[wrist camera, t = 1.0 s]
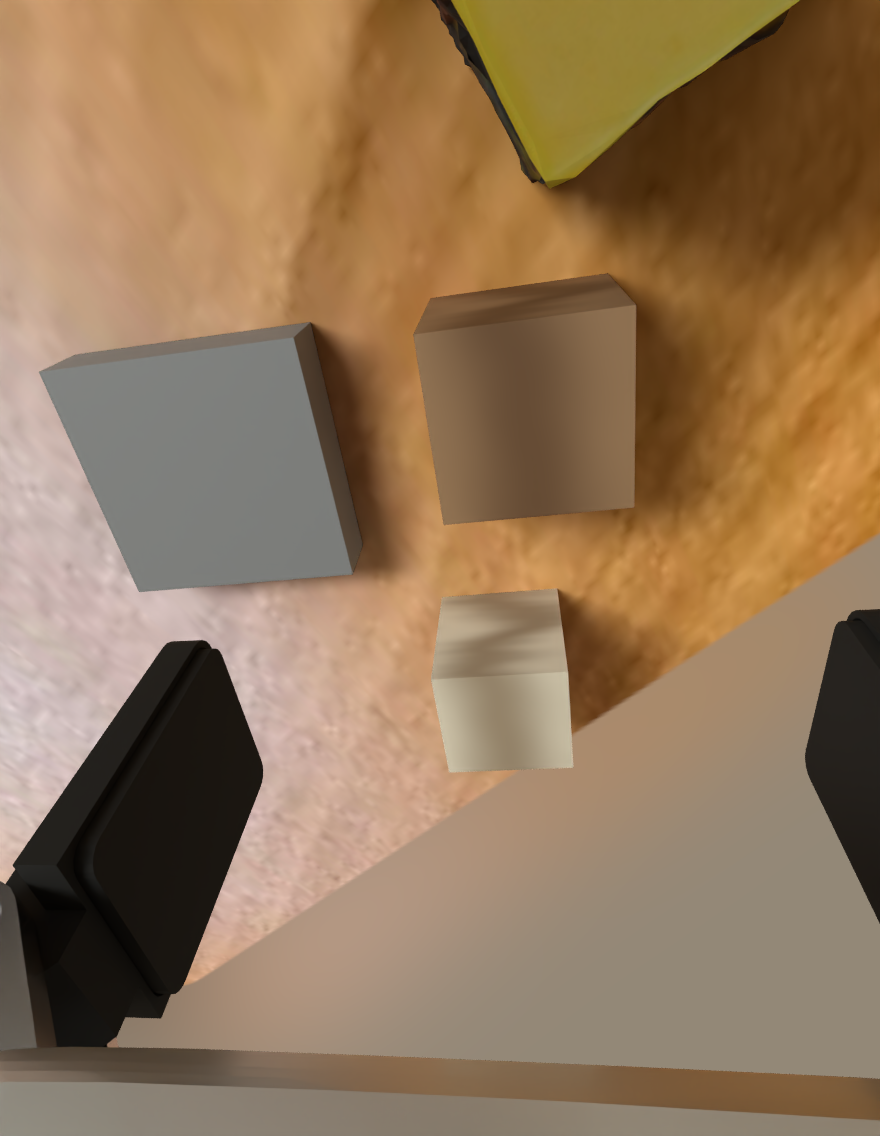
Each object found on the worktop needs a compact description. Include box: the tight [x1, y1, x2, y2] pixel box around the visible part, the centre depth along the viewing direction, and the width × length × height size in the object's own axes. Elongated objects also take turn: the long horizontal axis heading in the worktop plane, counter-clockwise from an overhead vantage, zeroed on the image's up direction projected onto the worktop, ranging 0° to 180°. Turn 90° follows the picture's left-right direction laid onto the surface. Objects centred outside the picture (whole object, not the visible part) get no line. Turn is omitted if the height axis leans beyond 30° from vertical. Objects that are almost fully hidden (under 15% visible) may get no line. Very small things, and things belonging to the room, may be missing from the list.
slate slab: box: [39, 322, 363, 592], centre depth 28 cm, size 10×10×2 cm
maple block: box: [431, 589, 573, 772], centre depth 31 cm, size 6×6×6 cm
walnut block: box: [413, 273, 636, 525], centre depth 24 cm, size 6×6×6 cm
